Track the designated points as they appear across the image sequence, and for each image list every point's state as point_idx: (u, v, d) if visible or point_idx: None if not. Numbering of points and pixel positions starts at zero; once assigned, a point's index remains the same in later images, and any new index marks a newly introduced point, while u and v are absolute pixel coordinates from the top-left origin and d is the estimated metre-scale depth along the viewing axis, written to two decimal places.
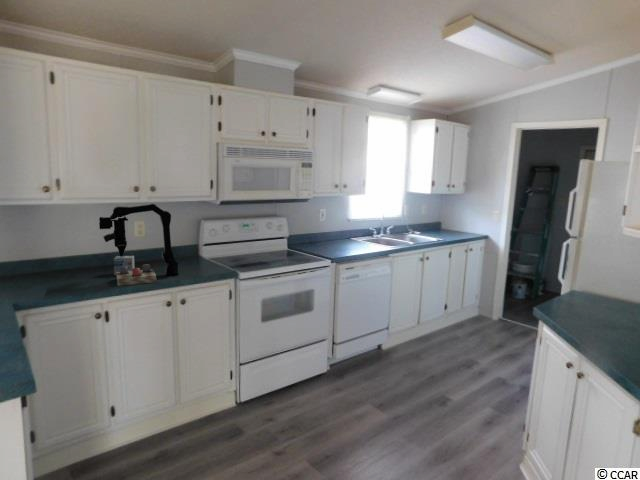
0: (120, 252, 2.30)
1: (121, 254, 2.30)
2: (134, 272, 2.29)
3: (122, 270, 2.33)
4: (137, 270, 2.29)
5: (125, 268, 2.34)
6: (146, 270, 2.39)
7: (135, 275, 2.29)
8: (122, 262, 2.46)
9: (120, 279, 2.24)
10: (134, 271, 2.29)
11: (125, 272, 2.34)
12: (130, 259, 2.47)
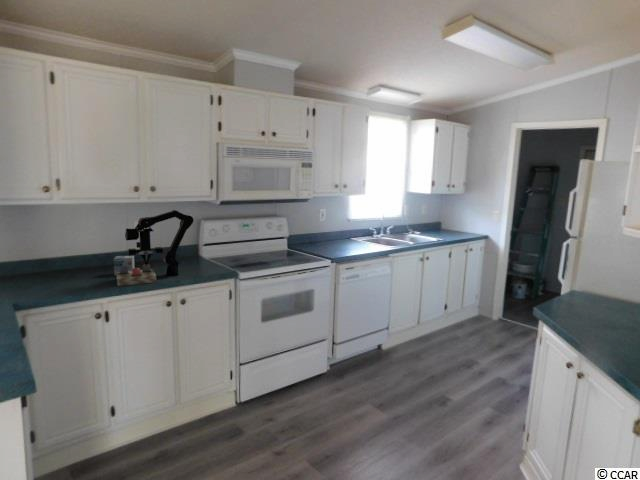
0: None
1: (145, 262, 2.40)
2: (134, 272, 2.29)
3: (122, 270, 2.33)
4: (137, 270, 2.29)
5: (125, 268, 2.34)
6: (146, 270, 2.39)
7: (135, 275, 2.29)
8: (122, 262, 2.46)
9: (120, 279, 2.24)
10: (134, 271, 2.29)
11: (125, 272, 2.34)
12: (130, 259, 2.47)
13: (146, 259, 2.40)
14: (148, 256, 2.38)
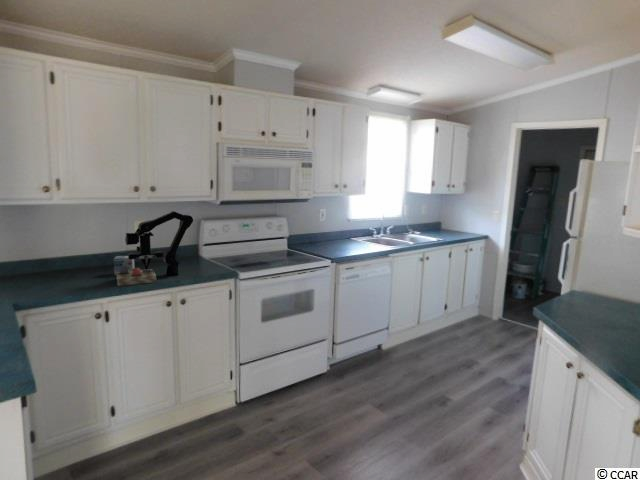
0: None
1: (145, 267, 2.40)
2: (134, 272, 2.29)
3: (122, 270, 2.33)
4: (137, 270, 2.29)
5: (125, 268, 2.34)
6: None
7: (135, 275, 2.29)
8: (122, 262, 2.46)
9: (120, 279, 2.24)
10: (134, 271, 2.29)
11: (125, 272, 2.34)
12: (130, 259, 2.47)
13: (146, 263, 2.40)
14: (148, 260, 2.38)
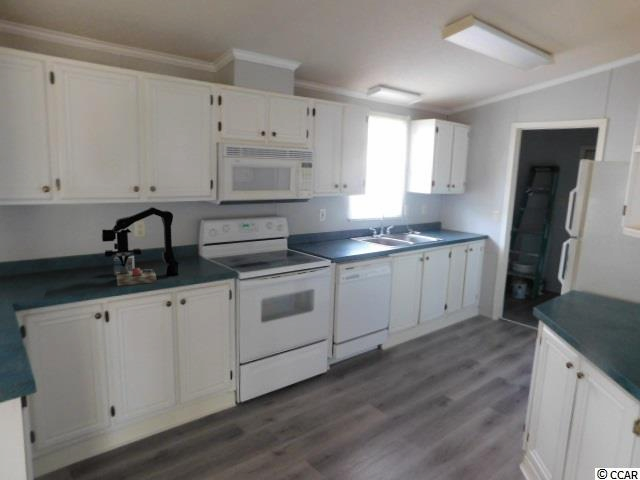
0: (121, 262, 2.34)
1: (122, 264, 2.34)
2: (134, 272, 2.29)
3: (122, 270, 2.33)
4: (137, 270, 2.29)
5: (125, 268, 2.34)
6: None
7: (135, 275, 2.29)
8: None
9: (120, 279, 2.24)
10: (134, 271, 2.29)
11: (125, 273, 2.34)
12: (130, 259, 2.47)
13: (124, 261, 2.34)
14: (126, 258, 2.32)
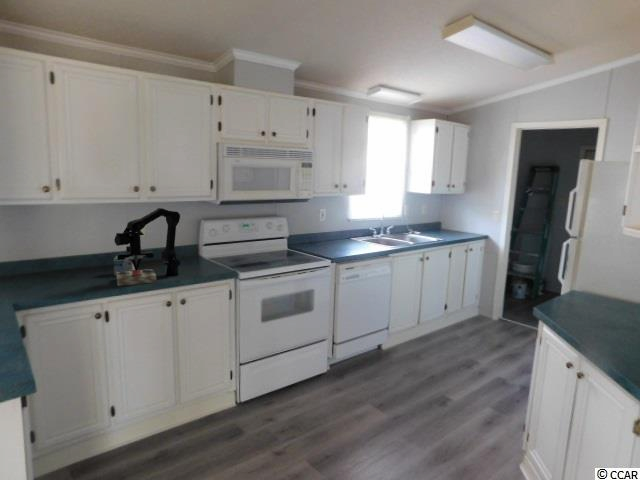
0: None
1: (135, 268, 2.30)
2: (134, 274, 2.29)
3: None
4: (137, 272, 2.30)
5: (125, 273, 2.34)
6: None
7: None
8: (122, 262, 2.46)
9: (120, 279, 2.24)
10: (134, 273, 2.29)
11: None
12: None
13: (136, 264, 2.30)
14: (138, 261, 2.28)
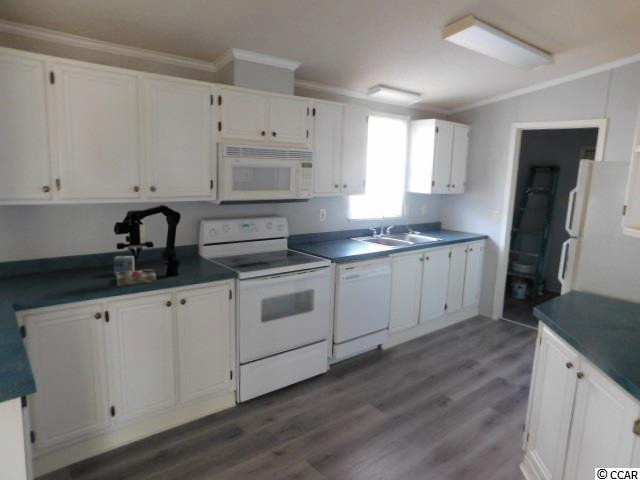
0: (133, 255, 2.29)
1: None
2: (134, 276, 2.29)
3: None
4: (137, 274, 2.30)
5: (125, 273, 2.34)
6: None
7: None
8: (122, 262, 2.46)
9: (120, 279, 2.24)
10: (134, 275, 2.29)
11: None
12: (130, 259, 2.47)
13: (136, 254, 2.29)
14: (138, 251, 2.27)
